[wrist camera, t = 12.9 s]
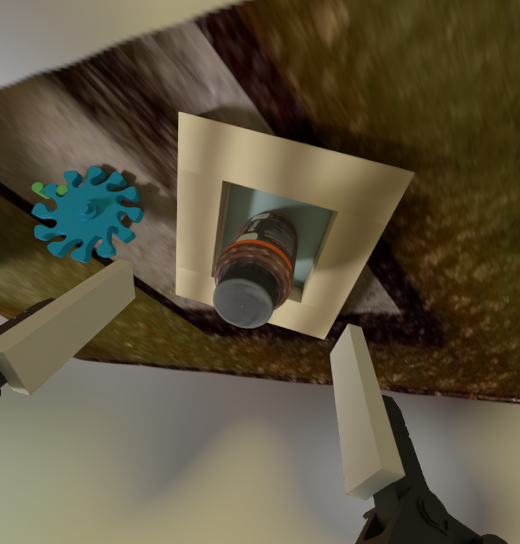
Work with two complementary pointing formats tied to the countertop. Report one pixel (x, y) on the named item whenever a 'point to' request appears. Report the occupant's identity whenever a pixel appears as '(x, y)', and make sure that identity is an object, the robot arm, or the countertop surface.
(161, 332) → the countertop surface
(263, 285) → the supplement bottle
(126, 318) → the countertop surface
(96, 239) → the gear
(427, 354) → the countertop surface
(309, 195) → the socket holder
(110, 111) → the countertop surface
